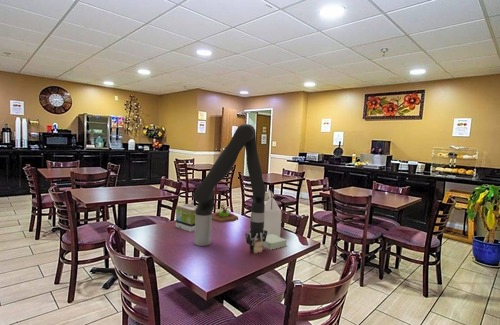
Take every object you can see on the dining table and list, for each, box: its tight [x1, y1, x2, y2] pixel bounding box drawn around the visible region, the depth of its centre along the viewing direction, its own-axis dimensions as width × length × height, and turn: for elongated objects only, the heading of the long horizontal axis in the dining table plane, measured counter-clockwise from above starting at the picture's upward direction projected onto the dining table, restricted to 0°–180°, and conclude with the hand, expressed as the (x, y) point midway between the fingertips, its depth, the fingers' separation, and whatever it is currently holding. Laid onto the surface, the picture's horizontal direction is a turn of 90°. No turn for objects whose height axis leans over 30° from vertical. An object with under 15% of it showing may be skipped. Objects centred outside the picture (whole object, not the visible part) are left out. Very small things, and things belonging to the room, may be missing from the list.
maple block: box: [248, 239, 263, 254], centre depth 158 cm, size 5×5×6 cm
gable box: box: [263, 188, 283, 237], centre depth 190 cm, size 22×13×28 cm, turn 3°
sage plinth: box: [257, 234, 287, 251], centre depth 168 cm, size 12×12×4 cm
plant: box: [212, 204, 239, 223], centre depth 219 cm, size 20×20×11 cm
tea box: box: [175, 203, 198, 233], centre depth 191 cm, size 15×10×15 cm, turn 55°
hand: (255, 250), depth 158 cm, fingers closed on maple block, 5 cm apart
